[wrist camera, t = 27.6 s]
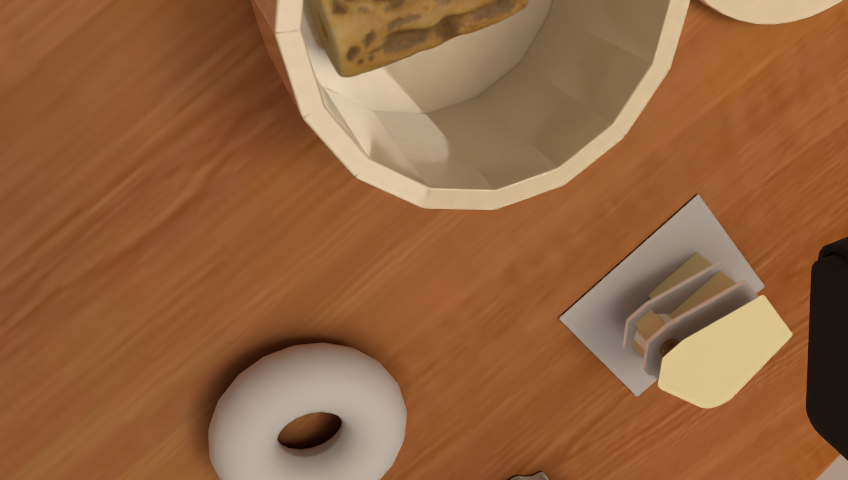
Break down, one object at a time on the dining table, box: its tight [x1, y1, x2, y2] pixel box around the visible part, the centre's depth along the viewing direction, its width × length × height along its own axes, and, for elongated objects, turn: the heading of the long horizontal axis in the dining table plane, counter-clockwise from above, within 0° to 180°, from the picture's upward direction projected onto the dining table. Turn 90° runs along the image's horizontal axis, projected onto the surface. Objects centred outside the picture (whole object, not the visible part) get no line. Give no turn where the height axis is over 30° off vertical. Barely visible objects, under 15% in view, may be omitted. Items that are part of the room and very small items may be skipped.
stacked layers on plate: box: [559, 194, 792, 408], centre depth 44 cm, size 10×9×6 cm
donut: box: [208, 342, 407, 480], centre depth 41 cm, size 10×4×10 cm
